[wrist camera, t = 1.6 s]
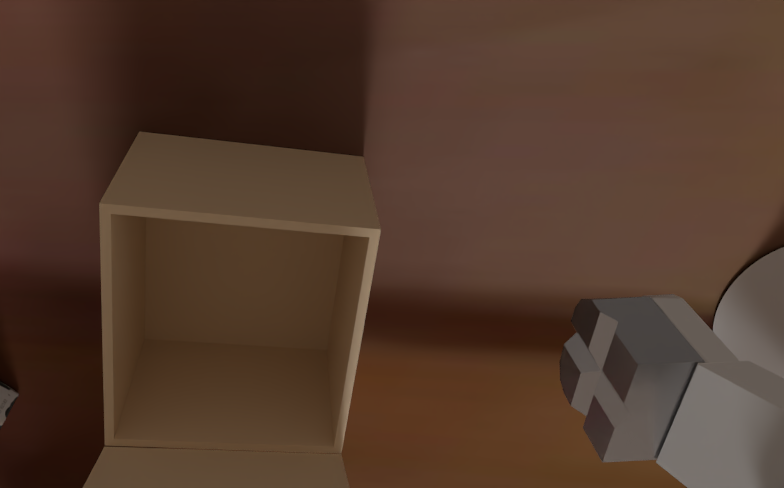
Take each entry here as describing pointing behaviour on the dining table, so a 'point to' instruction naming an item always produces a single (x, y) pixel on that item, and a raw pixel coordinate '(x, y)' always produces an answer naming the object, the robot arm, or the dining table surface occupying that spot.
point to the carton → (233, 294)
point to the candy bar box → (6, 401)
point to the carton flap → (214, 469)
